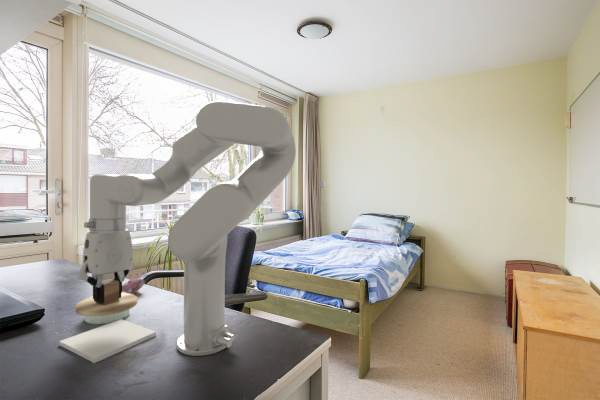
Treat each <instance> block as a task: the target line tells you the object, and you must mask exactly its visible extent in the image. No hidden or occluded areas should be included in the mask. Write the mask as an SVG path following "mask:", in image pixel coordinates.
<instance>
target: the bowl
mask: <svg viewBox="0 0 600 400" xmlns="http://www.w3.org/2000/svg"><path fill="white" fill-rule="evenodd" d="M122 293H126V292H122ZM128 294H129V293H128ZM90 297H93V295H91V296H88V298H90ZM129 315H130V309H129V310H126V311H123V312H120V313H116V314H112V315H105V316H84V321H85V323H86V324H90V325H106V324H109V323H112V322H115V321H117V320H120V319H122V320H124V319H125V318H126V317H128V316H129Z"/></svg>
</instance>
